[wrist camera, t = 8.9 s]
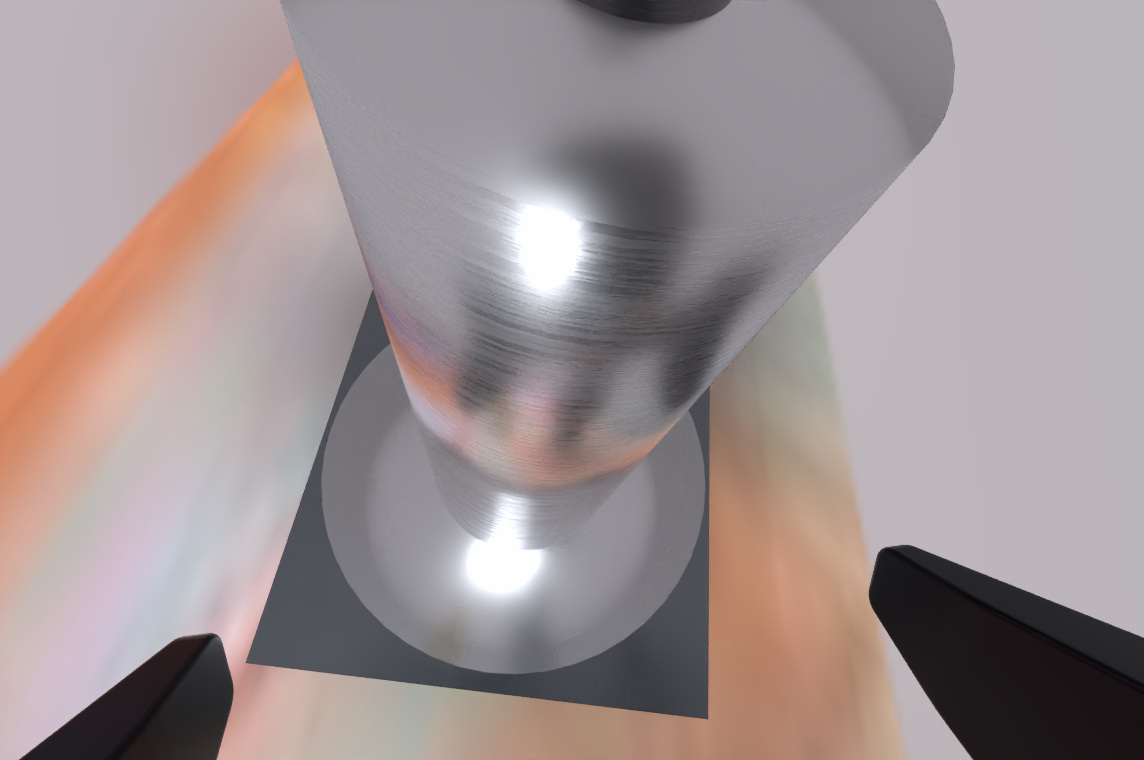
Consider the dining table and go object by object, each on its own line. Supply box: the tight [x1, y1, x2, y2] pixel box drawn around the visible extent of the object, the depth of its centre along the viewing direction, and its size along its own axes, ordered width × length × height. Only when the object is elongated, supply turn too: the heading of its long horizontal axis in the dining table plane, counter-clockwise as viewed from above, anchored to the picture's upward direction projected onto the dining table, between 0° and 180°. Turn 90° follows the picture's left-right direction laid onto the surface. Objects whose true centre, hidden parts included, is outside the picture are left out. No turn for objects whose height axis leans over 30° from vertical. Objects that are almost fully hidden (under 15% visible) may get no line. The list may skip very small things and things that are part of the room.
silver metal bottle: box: [280, 0, 955, 551], centre depth 9 cm, size 5×5×14 cm
